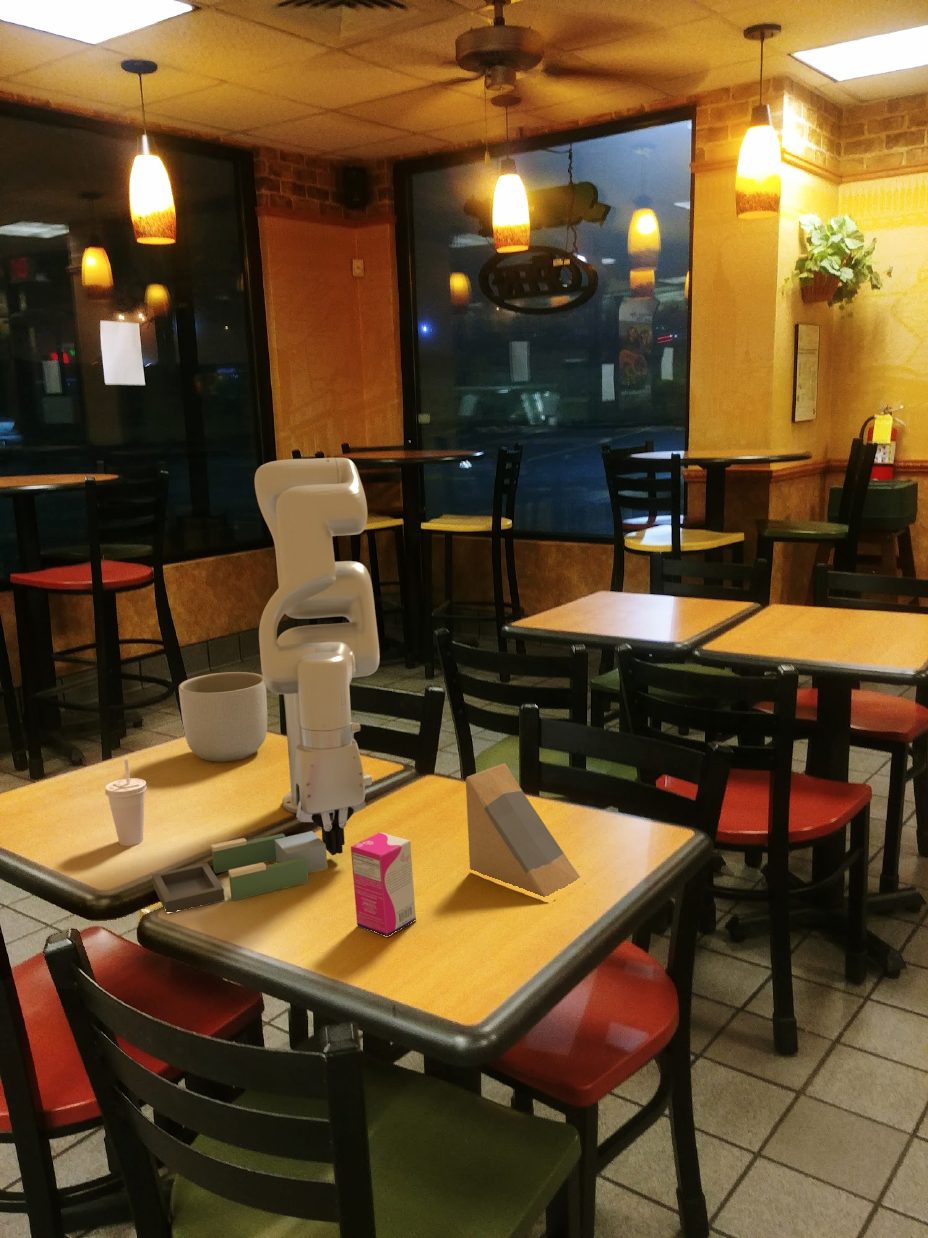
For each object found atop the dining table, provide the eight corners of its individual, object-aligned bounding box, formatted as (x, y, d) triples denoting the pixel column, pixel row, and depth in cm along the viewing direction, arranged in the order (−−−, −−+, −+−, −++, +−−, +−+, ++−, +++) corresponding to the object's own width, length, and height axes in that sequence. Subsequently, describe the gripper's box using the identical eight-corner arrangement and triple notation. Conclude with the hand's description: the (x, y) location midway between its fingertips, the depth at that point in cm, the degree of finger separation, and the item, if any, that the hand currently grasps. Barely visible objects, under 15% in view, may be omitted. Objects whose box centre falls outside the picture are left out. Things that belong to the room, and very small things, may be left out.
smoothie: (139, 850, 162) (130, 766, 159) (102, 848, 163) (93, 764, 161) (159, 834, 168) (151, 753, 166) (123, 832, 170) (115, 751, 167)
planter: (245, 736, 220) (240, 667, 217) (286, 754, 207) (281, 681, 204) (171, 754, 209) (164, 682, 207) (208, 774, 197) (202, 698, 194)
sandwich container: (549, 906, 139) (546, 801, 136) (468, 874, 150) (464, 777, 147) (587, 884, 145) (586, 784, 142) (507, 855, 156) (504, 761, 153)
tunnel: (284, 854, 159) (282, 829, 158) (308, 882, 148) (306, 856, 148) (213, 870, 154) (211, 844, 153) (233, 900, 144) (230, 873, 143)
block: (313, 855, 158) (312, 831, 158) (327, 869, 153) (325, 844, 152) (276, 864, 156) (274, 839, 155) (289, 879, 150) (287, 853, 150)
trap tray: (208, 874, 153) (207, 862, 152) (224, 900, 144) (223, 888, 144) (153, 886, 149) (152, 874, 149) (166, 914, 140) (165, 902, 140)
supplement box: (384, 909, 140) (380, 830, 137) (417, 921, 136) (413, 840, 134) (354, 926, 135) (349, 844, 133) (387, 939, 132) (382, 855, 129)
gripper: (363, 721, 159) (370, 832, 163) (270, 738, 152) (279, 853, 156) (382, 733, 153) (388, 849, 156) (286, 751, 146) (294, 871, 149)
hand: (334, 851), depth 156 cm, fingers closed
